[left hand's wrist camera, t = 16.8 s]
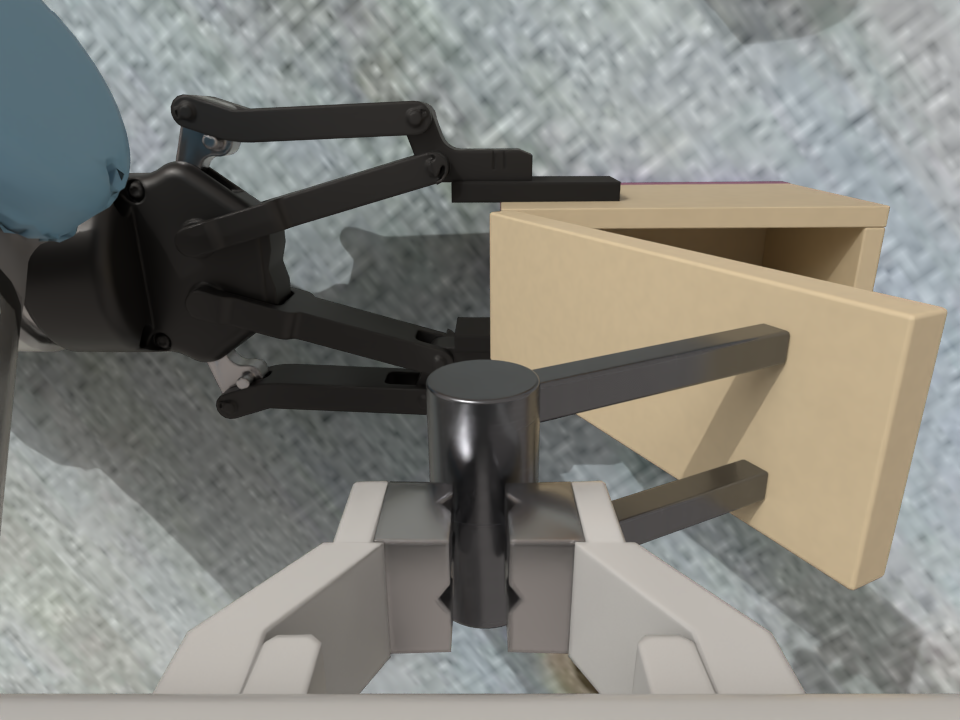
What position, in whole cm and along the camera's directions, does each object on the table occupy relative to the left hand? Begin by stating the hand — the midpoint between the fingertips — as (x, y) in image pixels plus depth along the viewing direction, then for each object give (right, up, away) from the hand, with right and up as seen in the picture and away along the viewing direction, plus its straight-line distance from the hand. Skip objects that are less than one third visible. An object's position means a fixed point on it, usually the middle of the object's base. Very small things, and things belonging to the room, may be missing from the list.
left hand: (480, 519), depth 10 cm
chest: (+8, +9, +23) cm, 26 cm away
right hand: (+5, +6, +18) cm, 20 cm away
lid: (+5, +3, +8) cm, 10 cm away
